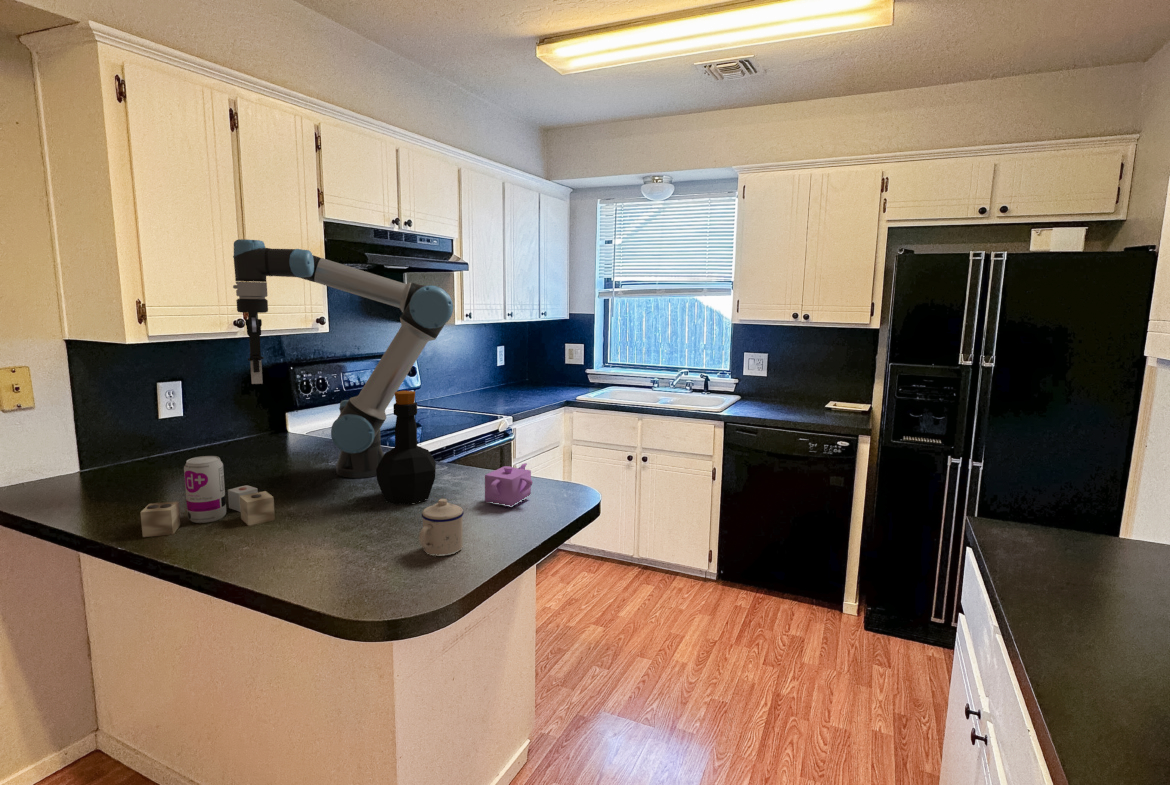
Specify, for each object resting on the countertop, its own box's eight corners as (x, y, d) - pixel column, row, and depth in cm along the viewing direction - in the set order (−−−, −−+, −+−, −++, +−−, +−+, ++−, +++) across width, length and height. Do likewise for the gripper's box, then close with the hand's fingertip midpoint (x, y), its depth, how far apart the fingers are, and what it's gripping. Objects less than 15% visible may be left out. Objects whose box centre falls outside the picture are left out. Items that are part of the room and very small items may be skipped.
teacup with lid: (440, 538, 147) (439, 490, 145) (471, 546, 143) (471, 497, 141) (404, 557, 136) (403, 506, 134) (437, 566, 132) (436, 513, 130)
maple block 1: (180, 525, 151) (178, 500, 150) (173, 534, 145) (170, 509, 144) (151, 527, 149) (149, 502, 148) (142, 537, 143) (140, 511, 142)
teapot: (507, 489, 184) (507, 456, 182) (548, 496, 178) (549, 462, 176) (471, 507, 168) (471, 471, 166) (515, 516, 162) (516, 479, 160)
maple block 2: (266, 513, 160) (265, 490, 159) (274, 520, 155) (273, 496, 154) (241, 519, 156) (239, 495, 155) (248, 526, 151) (247, 501, 150)
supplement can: (209, 525, 151) (204, 465, 148) (179, 522, 152) (174, 462, 150) (234, 514, 159) (230, 456, 156) (206, 510, 160) (201, 454, 158)
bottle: (445, 502, 171) (444, 394, 167) (384, 511, 163) (381, 398, 158) (427, 485, 185) (426, 385, 180) (370, 493, 177) (367, 389, 172)
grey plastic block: (247, 503, 167) (246, 484, 166) (258, 506, 164) (257, 487, 164) (229, 508, 163) (227, 489, 162) (240, 512, 160) (238, 492, 159)
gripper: (236, 297, 174) (241, 380, 178) (236, 298, 163) (241, 387, 167) (266, 297, 178) (271, 379, 181) (268, 298, 166) (273, 386, 170)
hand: (257, 383), depth 174 cm, fingers closed
